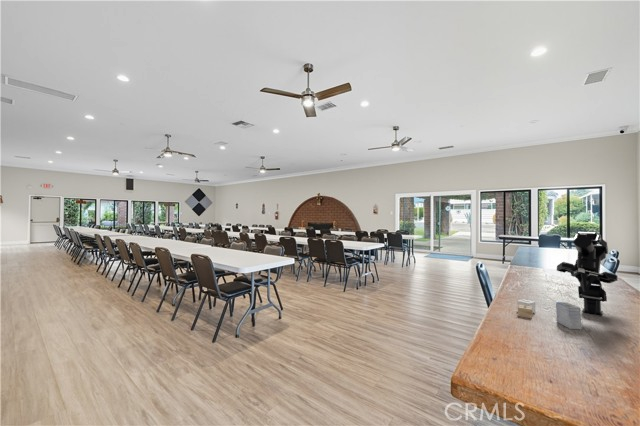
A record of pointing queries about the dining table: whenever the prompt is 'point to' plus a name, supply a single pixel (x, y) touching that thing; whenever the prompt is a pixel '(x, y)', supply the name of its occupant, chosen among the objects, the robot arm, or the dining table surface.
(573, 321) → the medicine box
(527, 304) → the grey block
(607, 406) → the dining table surface
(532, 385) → the dining table surface
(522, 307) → the oak block
